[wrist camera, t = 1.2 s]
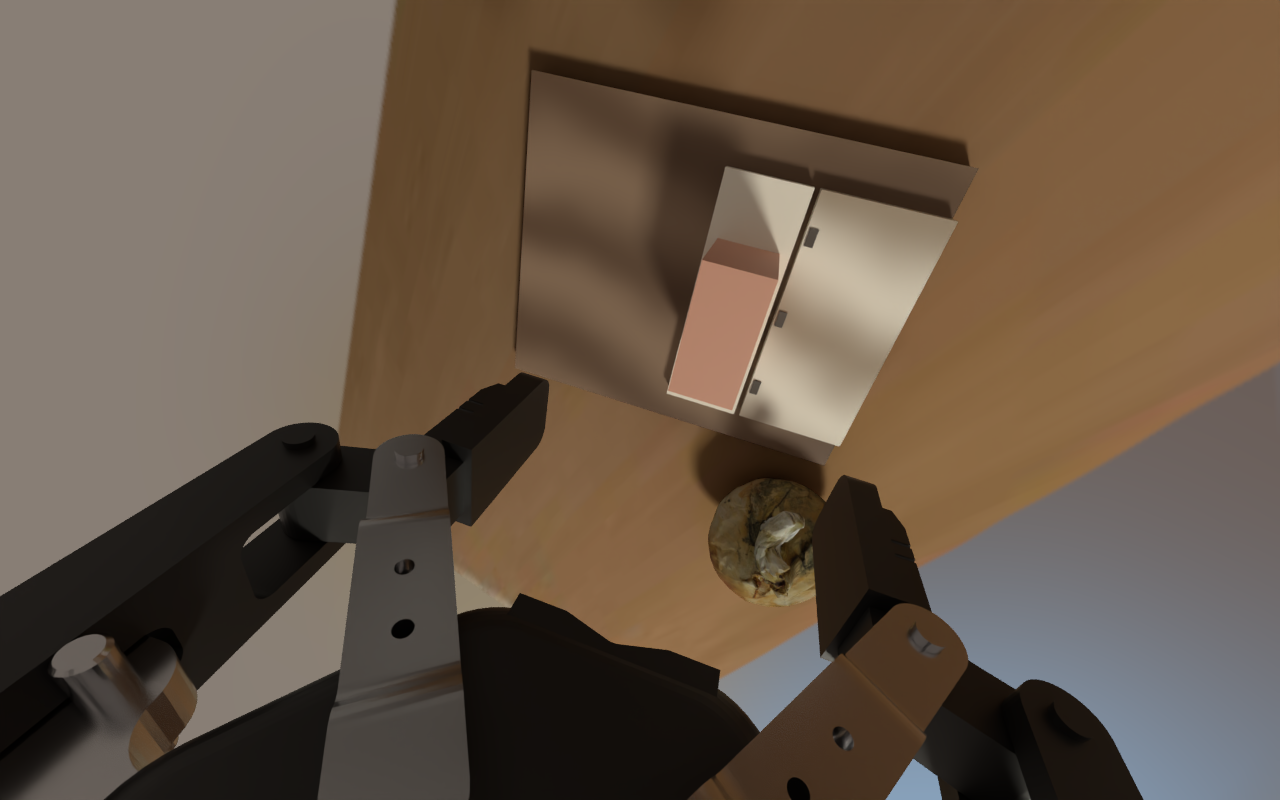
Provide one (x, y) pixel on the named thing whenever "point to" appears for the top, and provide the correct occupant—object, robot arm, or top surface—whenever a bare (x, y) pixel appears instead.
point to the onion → (766, 541)
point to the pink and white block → (737, 285)
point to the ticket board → (673, 247)
